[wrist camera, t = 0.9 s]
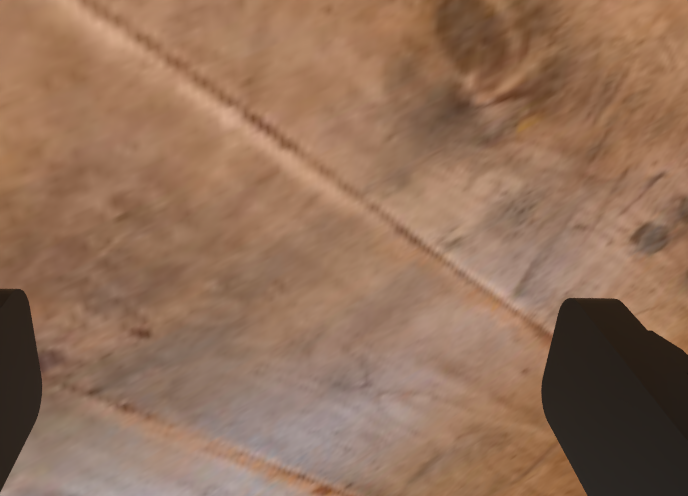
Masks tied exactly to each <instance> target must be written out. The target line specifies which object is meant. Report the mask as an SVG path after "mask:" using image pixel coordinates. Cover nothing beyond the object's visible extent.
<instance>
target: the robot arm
mask: <svg viewBox="0 0 688 496" xmlns="http://www.w3.org/2000/svg"><path fill="white" fill-rule="evenodd" d="M541 393H542V404H543V409H544V413H545V416H546V419H547V421H548V423H549V425H550V427H551V428H552V430H553V432H554V434H555V436H556V438H557V440H558V441H559V443H560V445H561V447H562V449H563V451H564V453H565V454H566V456H567V458H568V460H569V462H570V464H571V466H572V468H573V469H574V471H575V473H576V475H577V477H578V479H579V481H580V482H581V484H582V486H583V488H584V490H585V492H586V494H587V495H588V496H688V355H687V354H686V353H685V352H684V351H683V350H682V349H680V348H678V347H677V346H675V345H674V344H672V343H671V342H669V341H667V340H666V339H664V338H663V337H661V336H659V335H658V334H656V333H655V332H653V331H648V330H647V329H646V328H645V327H644V326H643V325H642V324H641V323H640V322H639V320H638V319H637V318H636V317H635V316H634V315H633V314H632V313H631V312H630V311H629V309H628V308H627V307H626V306H625V305H624V304H623V303H622V302H621V301H620V300H618V299H604V298H568V299H566V300H565V301H564V302H563V304H562V305H561V307H560V310H559V313H558V317H557V321H556V325H555V329H554V334H553V338H552V342H551V346H550V350H549V354H548V358H547V363H546V367H545V371H544V375H543V380H542V390H541ZM41 397H42V378H41V371H40V365H39V359H38V353H37V347H36V341H35V335H34V329H33V323H32V317H31V311H30V306H29V301H28V298H27V296H26V294H25V293H24V291H22V290H21V289H0V492H1V490H2V488H3V486H4V484H5V482H6V480H7V478H8V476H9V474H10V472H11V470H12V468H13V466H14V464H15V462H16V460H17V458H18V456H19V454H20V452H21V450H22V448H23V446H24V444H25V442H26V440H27V438H28V436H29V434H30V432H31V430H32V428H33V426H34V424H35V421H36V419H37V416H38V413H39V409H40V404H41Z"/></svg>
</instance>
